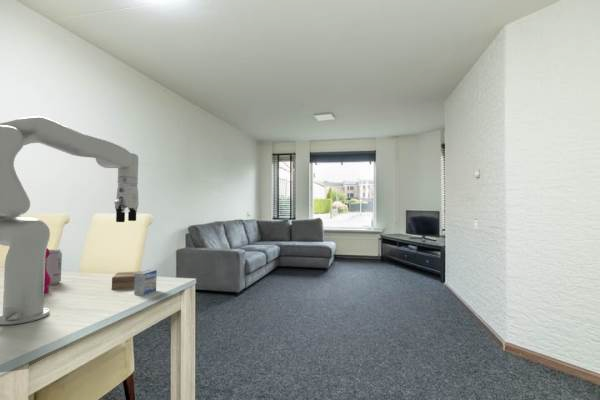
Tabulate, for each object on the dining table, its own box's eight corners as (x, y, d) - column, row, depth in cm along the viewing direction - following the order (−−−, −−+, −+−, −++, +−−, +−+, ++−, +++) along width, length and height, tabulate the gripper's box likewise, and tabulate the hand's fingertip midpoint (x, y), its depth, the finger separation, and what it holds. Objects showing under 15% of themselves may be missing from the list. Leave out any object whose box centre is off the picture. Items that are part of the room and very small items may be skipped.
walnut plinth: (138, 287, 131) (138, 276, 131) (111, 289, 127) (112, 277, 127) (141, 282, 140) (142, 271, 140) (117, 283, 137) (117, 272, 137)
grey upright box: (57, 284, 132) (59, 250, 133) (40, 285, 130) (42, 251, 131) (62, 281, 138) (64, 249, 138) (46, 282, 136) (48, 249, 136)
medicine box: (143, 295, 120) (144, 274, 120) (133, 294, 121) (134, 273, 121) (156, 290, 128) (157, 270, 128) (147, 289, 129) (148, 269, 129)
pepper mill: (49, 289, 125) (51, 241, 126) (51, 293, 120) (53, 243, 121) (26, 292, 120) (28, 242, 121) (26, 296, 115) (29, 244, 116)
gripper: (126, 180, 121) (124, 222, 120) (145, 183, 138) (144, 220, 138) (107, 179, 120) (105, 222, 120) (129, 183, 138) (127, 220, 137)
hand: (126, 221), depth 129 cm, fingers open, 9 cm apart
